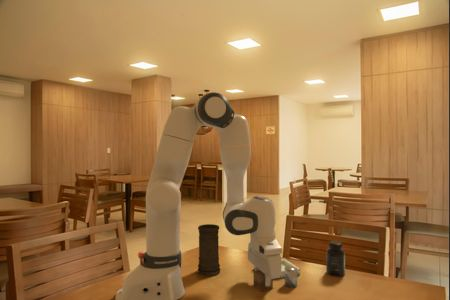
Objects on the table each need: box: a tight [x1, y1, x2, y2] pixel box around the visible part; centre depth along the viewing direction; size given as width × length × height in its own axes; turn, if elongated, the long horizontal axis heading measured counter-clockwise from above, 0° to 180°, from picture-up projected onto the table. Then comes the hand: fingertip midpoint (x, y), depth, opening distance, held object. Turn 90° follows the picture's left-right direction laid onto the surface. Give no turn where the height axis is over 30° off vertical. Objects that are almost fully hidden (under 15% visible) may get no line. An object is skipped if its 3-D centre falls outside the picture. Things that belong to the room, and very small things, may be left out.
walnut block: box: [253, 270, 274, 291], centre depth 118 cm, size 5×5×5 cm
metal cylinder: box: [284, 266, 298, 289], centre depth 119 cm, size 4×4×6 cm
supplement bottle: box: [325, 240, 346, 277], centre depth 130 cm, size 7×7×12 cm
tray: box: [253, 258, 301, 279], centre depth 132 cm, size 14×12×2 cm
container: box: [197, 223, 221, 277], centre depth 132 cm, size 9×9×18 cm
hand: (263, 281), depth 118 cm, fingers closed on walnut block, 5 cm apart
